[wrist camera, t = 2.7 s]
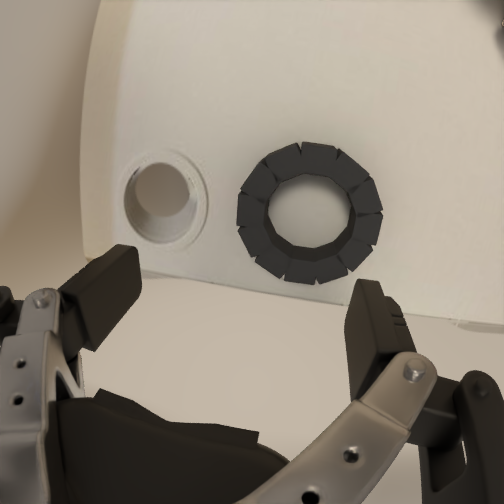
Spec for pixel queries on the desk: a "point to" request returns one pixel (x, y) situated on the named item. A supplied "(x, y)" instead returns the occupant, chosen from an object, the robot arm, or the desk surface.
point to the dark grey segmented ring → (302, 258)
